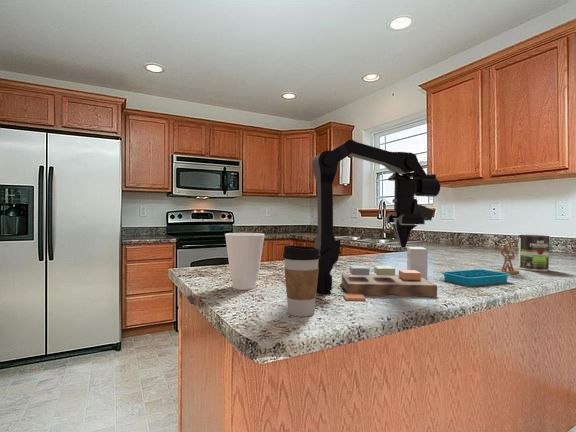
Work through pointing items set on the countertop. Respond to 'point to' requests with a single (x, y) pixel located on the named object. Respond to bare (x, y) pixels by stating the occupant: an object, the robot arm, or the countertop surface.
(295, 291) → the coffee cup
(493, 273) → the ice cube tray
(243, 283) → the cup
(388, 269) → the sage button
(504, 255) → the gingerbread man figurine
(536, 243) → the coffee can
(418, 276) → the terracotta button
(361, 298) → the tile
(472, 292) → the countertop surface
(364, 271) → the slate button
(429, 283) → the wooden sorting tray
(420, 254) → the small box
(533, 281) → the countertop surface
